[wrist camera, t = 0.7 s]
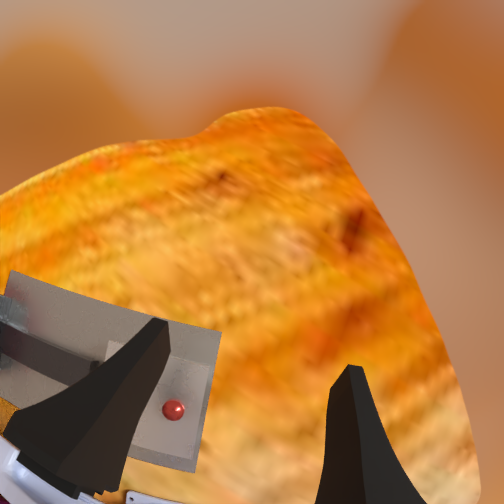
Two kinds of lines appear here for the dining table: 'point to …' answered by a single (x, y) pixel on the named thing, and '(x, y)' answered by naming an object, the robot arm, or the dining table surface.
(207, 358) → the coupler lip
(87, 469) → the robot arm
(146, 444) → the block
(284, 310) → the dining table surface
